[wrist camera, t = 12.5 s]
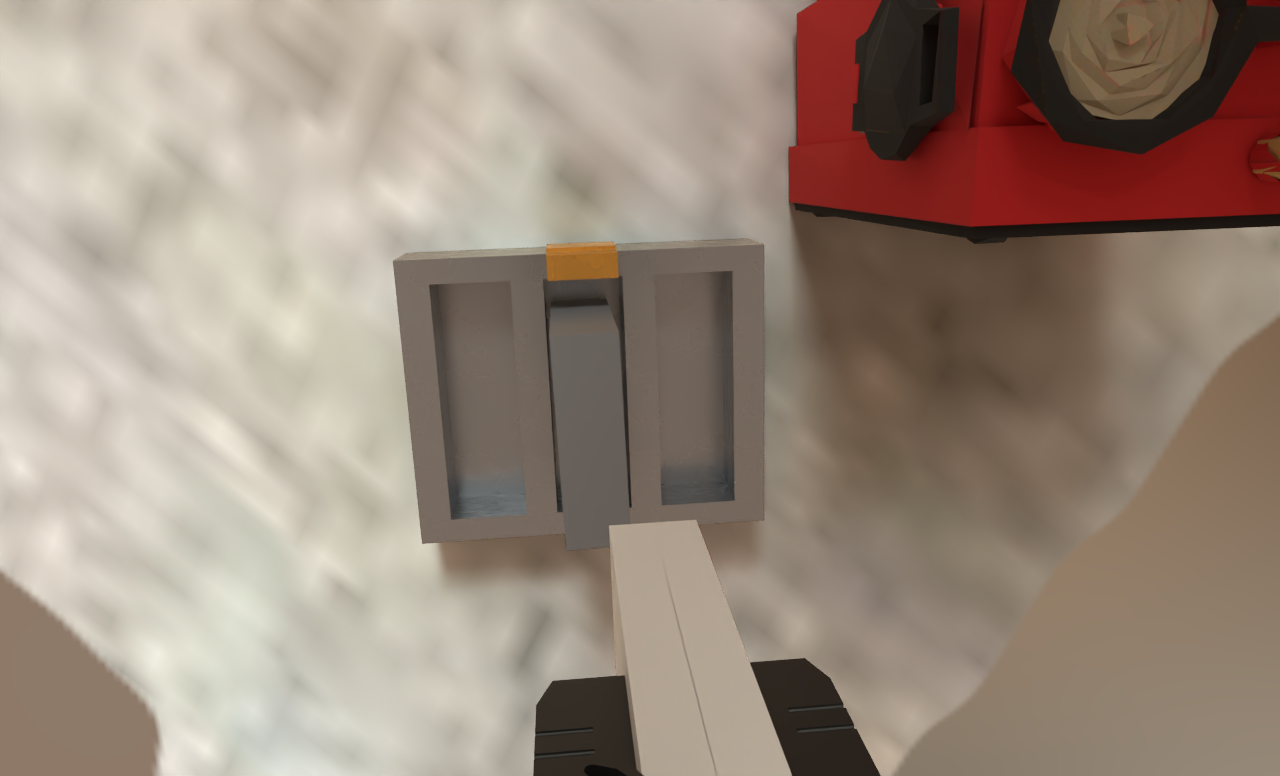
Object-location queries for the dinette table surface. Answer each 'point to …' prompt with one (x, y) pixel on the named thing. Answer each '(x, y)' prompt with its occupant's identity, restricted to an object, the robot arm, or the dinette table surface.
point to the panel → (589, 421)
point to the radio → (1039, 115)
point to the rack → (523, 385)
